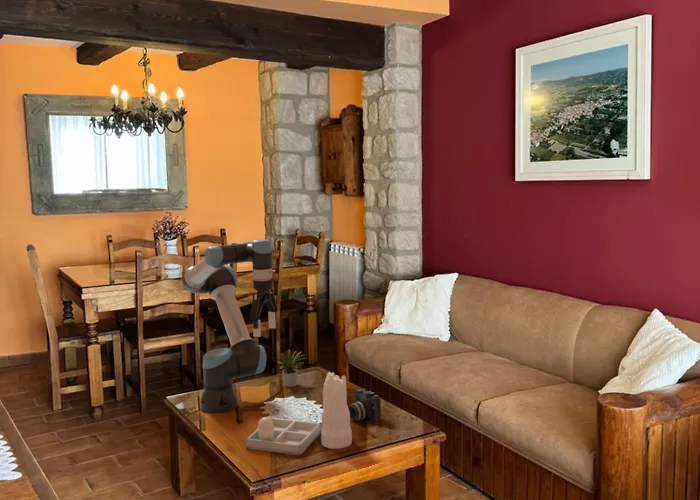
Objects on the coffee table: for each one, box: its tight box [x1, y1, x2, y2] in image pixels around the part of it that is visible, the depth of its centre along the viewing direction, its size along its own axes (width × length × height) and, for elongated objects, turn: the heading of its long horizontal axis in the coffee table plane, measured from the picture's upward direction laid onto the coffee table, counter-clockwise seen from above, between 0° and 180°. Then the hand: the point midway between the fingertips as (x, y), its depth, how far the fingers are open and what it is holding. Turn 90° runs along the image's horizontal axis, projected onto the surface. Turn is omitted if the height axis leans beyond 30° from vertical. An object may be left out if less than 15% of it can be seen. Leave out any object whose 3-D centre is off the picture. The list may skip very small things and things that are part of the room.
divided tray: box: [245, 417, 322, 457], centre depth 240 cm, size 20×20×4 cm
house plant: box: [276, 348, 307, 388], centre depth 298 cm, size 14×14×16 cm
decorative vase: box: [320, 371, 353, 450], centre depth 236 cm, size 11×11×25 cm
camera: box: [348, 388, 382, 422], centre depth 259 cm, size 14×11×10 cm
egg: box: [257, 416, 274, 441], centre depth 236 cm, size 6×6×9 cm
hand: (264, 332), depth 264 cm, fingers open, 13 cm apart
